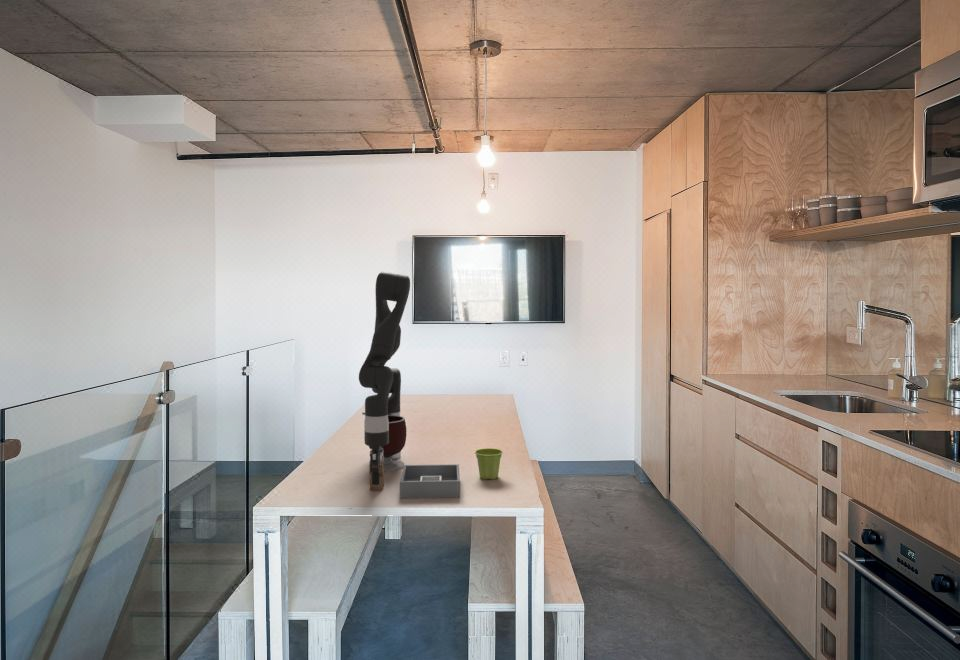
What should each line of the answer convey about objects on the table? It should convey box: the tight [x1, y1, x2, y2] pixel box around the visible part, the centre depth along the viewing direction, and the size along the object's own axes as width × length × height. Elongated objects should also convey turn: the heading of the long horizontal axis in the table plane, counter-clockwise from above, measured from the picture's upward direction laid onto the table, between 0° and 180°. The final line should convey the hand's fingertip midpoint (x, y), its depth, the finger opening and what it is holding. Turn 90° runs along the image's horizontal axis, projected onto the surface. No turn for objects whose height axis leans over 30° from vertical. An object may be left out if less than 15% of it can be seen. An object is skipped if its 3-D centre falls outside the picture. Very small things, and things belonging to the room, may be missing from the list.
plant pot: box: [474, 447, 504, 480], centre depth 207 cm, size 9×9×9 cm
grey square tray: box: [399, 463, 461, 499], centre depth 195 cm, size 18×18×5 cm
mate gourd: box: [362, 411, 407, 472], centre depth 218 cm, size 16×14×20 cm
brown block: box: [369, 458, 385, 491], centre depth 195 cm, size 4×4×9 cm
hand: (377, 480), depth 195 cm, fingers open, 7 cm apart
